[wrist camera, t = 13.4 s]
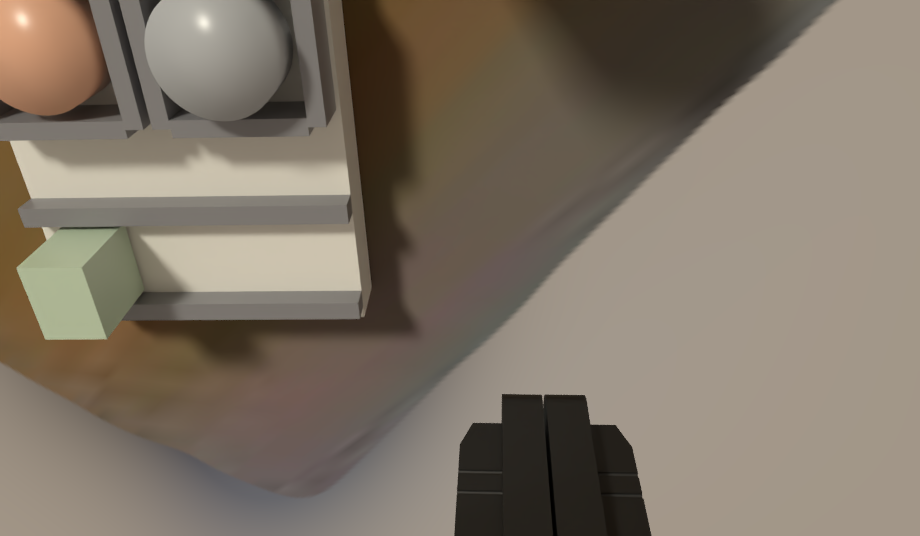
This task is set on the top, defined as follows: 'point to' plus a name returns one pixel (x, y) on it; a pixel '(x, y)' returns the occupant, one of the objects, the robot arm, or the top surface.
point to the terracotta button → (49, 55)
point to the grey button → (219, 54)
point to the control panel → (212, 179)
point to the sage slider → (82, 282)
